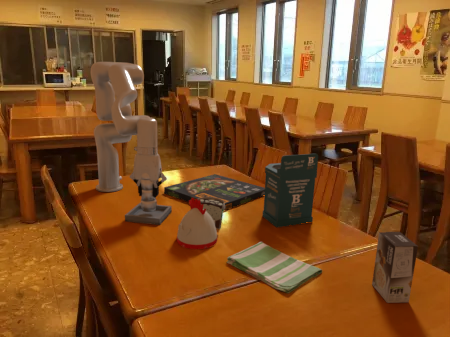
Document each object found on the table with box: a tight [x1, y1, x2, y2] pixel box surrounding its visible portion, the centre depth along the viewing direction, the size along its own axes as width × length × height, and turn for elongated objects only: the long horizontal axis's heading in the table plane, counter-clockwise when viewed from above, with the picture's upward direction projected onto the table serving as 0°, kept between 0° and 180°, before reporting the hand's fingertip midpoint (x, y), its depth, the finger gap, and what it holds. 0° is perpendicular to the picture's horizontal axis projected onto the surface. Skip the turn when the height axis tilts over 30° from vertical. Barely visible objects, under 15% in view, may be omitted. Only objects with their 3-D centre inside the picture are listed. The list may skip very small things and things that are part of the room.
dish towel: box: [226, 241, 323, 294], centre depth 113 cm, size 18×23×3 cm
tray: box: [124, 202, 173, 226], centre depth 149 cm, size 14×14×2 cm
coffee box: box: [371, 231, 419, 304], centre depth 100 cm, size 9×6×16 cm
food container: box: [198, 197, 225, 230], centre depth 143 cm, size 12×6×10 cm, turn 65°
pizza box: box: [163, 173, 265, 212], centre depth 179 cm, size 35×35×4 cm
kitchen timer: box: [176, 198, 218, 250], centre depth 128 cm, size 14×14×15 cm
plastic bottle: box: [140, 173, 158, 212], centre depth 146 cm, size 6×7×20 cm
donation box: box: [261, 153, 319, 229], centre depth 149 cm, size 16×16×28 cm
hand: (148, 195), depth 147 cm, fingers closed on plastic bottle, 5 cm apart
